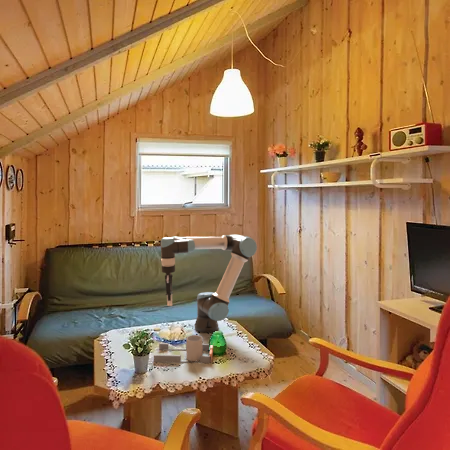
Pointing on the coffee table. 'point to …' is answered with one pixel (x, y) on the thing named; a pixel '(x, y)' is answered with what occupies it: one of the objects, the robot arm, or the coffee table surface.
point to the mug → (194, 347)
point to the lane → (178, 357)
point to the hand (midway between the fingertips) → (169, 305)
